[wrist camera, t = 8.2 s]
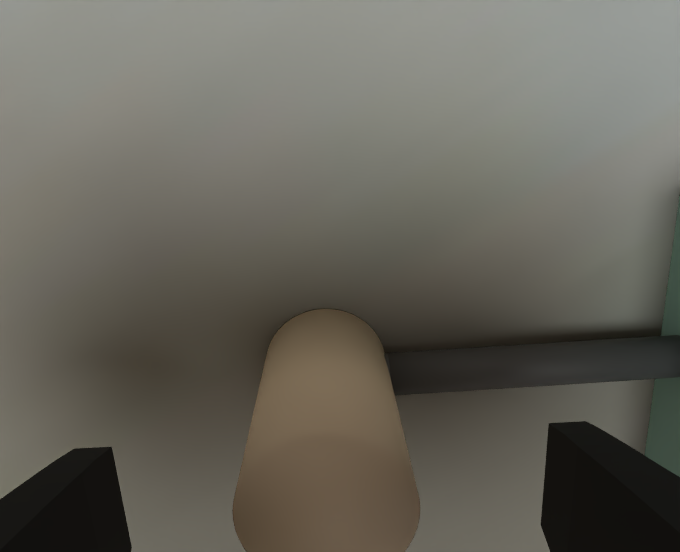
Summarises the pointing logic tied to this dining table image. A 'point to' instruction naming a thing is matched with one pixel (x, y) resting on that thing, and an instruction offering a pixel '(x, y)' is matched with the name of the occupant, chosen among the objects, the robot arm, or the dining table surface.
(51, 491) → the robot arm
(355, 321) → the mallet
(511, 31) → the dining table surface
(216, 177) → the dining table surface
